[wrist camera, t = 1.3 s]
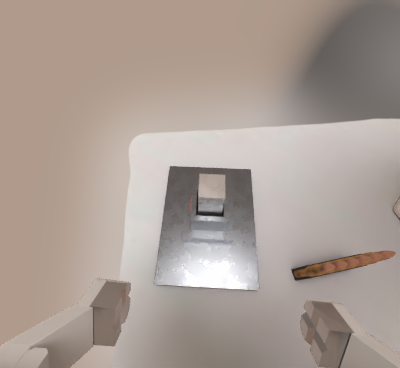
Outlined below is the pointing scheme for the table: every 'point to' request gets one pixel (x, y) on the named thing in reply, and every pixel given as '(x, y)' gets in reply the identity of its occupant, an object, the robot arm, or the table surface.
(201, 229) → the metal stepped base
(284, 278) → the table surface
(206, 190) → the column
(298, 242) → the table surface
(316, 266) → the ammunition clip
